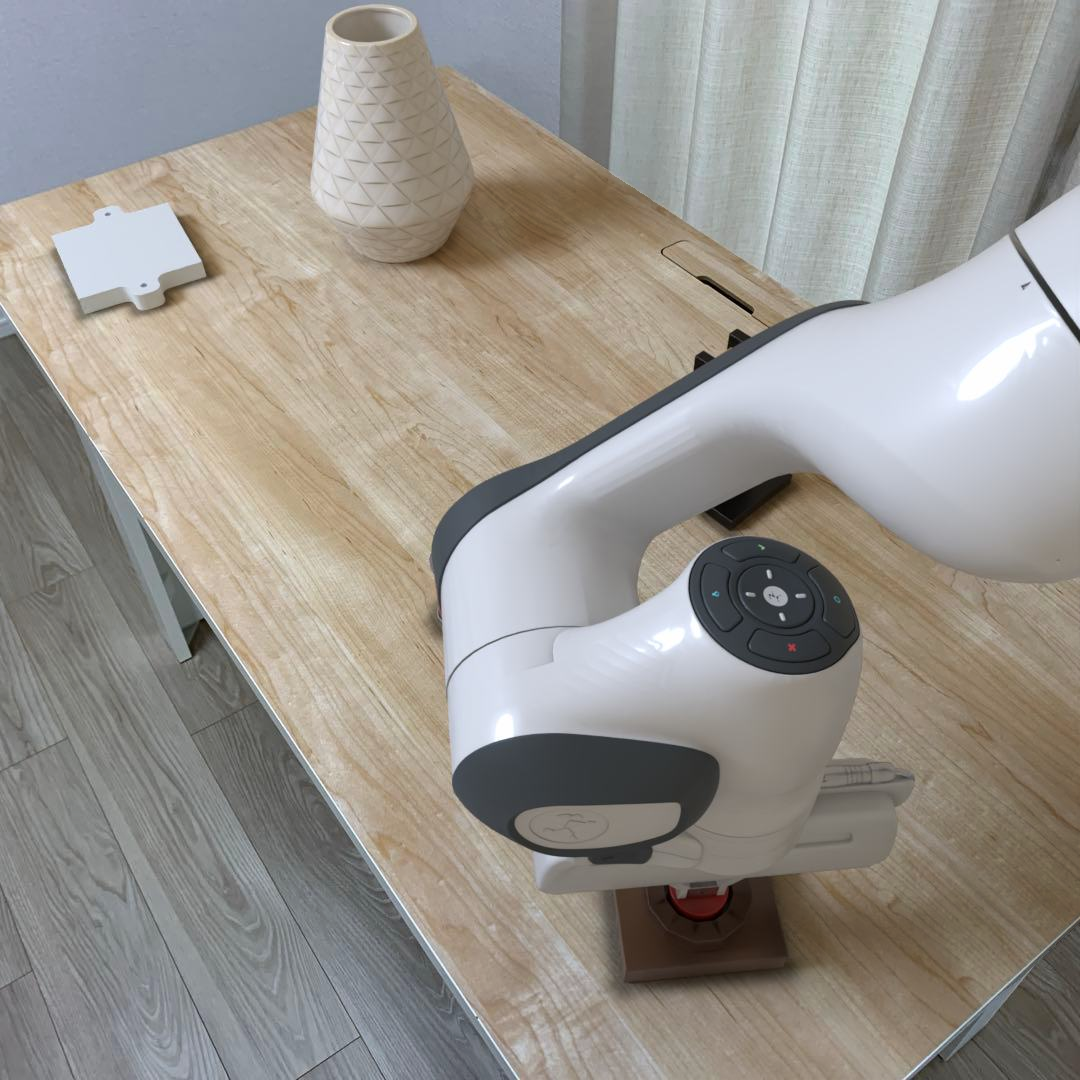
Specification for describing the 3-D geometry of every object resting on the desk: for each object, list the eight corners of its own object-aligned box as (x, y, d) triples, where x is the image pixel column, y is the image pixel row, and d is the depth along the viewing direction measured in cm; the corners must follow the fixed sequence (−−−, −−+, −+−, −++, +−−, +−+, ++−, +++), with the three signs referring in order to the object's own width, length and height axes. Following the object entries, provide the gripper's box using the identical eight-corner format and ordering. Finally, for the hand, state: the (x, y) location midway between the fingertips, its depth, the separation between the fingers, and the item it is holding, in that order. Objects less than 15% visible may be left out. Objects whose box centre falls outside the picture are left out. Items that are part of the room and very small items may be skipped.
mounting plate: (52, 239, 117) (45, 224, 116) (166, 206, 121) (161, 191, 119) (90, 327, 107) (84, 312, 105) (213, 289, 111) (209, 274, 109)
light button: (718, 866, 67) (722, 855, 66) (730, 923, 65) (733, 912, 63) (663, 871, 67) (665, 860, 65) (672, 928, 64) (674, 918, 63)
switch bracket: (790, 484, 92) (820, 362, 81) (729, 531, 88) (752, 410, 78) (705, 425, 96) (723, 303, 86) (644, 468, 93) (655, 347, 82)
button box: (755, 846, 70) (764, 820, 67) (782, 968, 65) (793, 946, 62) (607, 859, 70) (609, 833, 67) (623, 983, 65) (626, 961, 62)
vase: (444, 294, 110) (422, 79, 92) (294, 265, 113) (245, 53, 96) (499, 204, 120) (489, -4, 102) (360, 181, 124) (327, -25, 106)
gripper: (905, 711, 56) (850, 822, 67) (525, 741, 55) (530, 849, 66) (944, 821, 52) (878, 921, 63) (535, 856, 51) (539, 951, 62)
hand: (698, 884), depth 64 cm, fingers closed, pressing on light button
